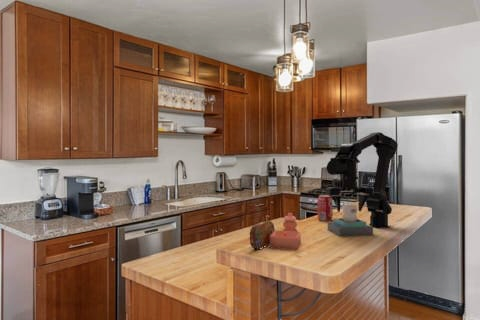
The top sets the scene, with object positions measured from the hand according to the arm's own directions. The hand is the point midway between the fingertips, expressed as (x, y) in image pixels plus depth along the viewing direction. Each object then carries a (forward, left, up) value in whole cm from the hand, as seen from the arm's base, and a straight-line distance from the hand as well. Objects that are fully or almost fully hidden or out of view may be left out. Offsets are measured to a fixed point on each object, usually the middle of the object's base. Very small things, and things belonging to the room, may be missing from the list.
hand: (349, 211), depth 138 cm
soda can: (0, -26, -9) cm, 28 cm away
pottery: (+29, +10, -9) cm, 32 cm away
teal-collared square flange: (0, 0, -9) cm, 9 cm away
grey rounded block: (0, 0, -6) cm, 6 cm away
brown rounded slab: (+39, +14, -9) cm, 43 cm away
